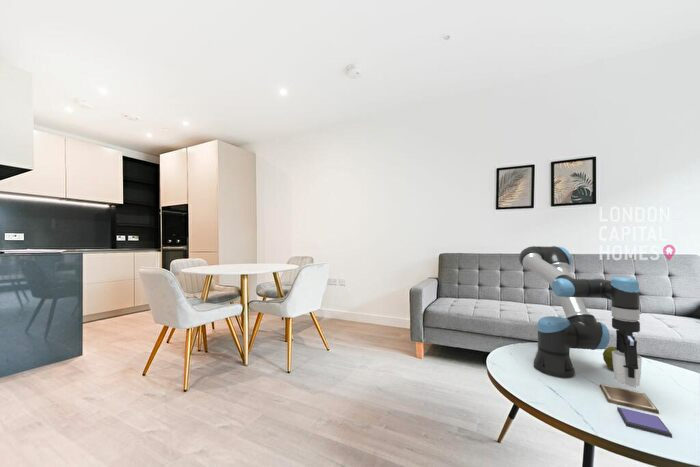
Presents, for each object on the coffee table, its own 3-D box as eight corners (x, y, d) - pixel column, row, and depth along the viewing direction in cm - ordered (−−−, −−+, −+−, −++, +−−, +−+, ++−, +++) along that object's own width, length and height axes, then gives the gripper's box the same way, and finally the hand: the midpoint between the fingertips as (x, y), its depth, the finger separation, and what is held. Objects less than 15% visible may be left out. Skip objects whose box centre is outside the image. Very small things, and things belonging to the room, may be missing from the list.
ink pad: (626, 426, 89) (626, 421, 89) (617, 409, 98) (617, 406, 98) (672, 437, 84) (672, 433, 84) (658, 419, 92) (658, 415, 93)
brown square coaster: (608, 402, 102) (608, 398, 102) (599, 386, 113) (599, 383, 113) (658, 413, 96) (658, 410, 96) (644, 395, 107) (644, 392, 107)
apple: (613, 374, 124) (612, 349, 124) (597, 364, 134) (597, 341, 134) (639, 376, 122) (638, 350, 123) (621, 366, 132) (621, 342, 132)
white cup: (606, 376, 108) (606, 350, 108) (625, 376, 109) (624, 350, 109) (628, 387, 100) (628, 359, 100) (648, 386, 101) (648, 358, 101)
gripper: (650, 327, 94) (652, 396, 94) (630, 314, 112) (631, 372, 111) (620, 324, 98) (621, 390, 98) (605, 312, 116) (606, 368, 115)
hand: (626, 381), depth 104 cm, fingers closed on white cup, 8 cm apart
